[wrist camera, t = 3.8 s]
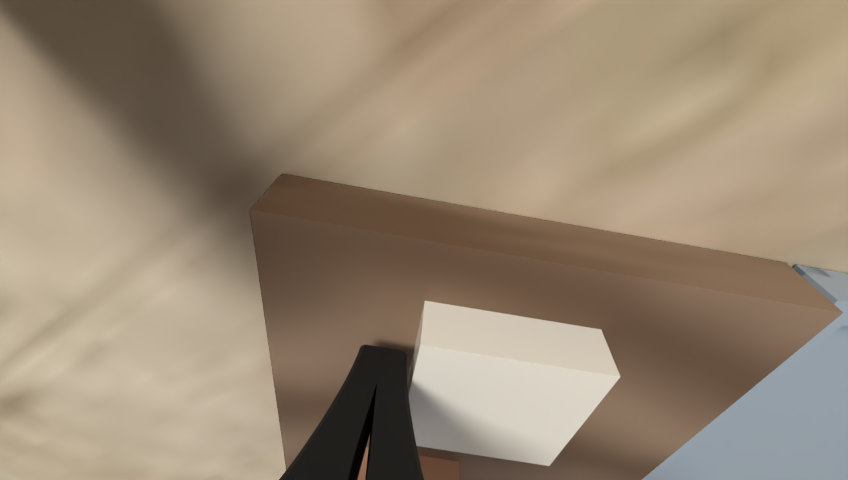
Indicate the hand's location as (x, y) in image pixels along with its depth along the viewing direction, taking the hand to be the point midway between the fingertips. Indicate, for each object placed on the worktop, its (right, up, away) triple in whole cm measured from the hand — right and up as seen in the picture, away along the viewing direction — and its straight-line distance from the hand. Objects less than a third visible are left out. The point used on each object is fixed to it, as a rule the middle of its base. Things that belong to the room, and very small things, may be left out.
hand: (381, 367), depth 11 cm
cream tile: (+3, 0, +1) cm, 3 cm away
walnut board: (+3, -3, +5) cm, 6 cm away
